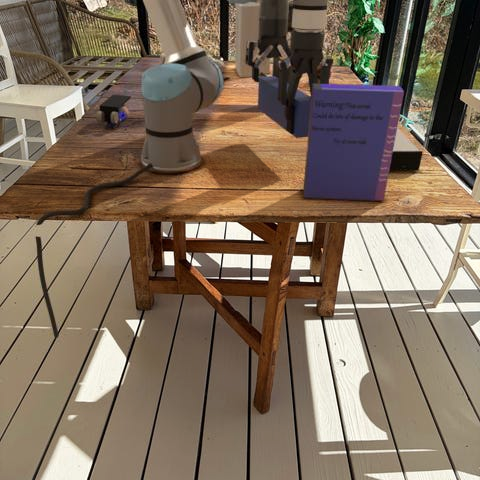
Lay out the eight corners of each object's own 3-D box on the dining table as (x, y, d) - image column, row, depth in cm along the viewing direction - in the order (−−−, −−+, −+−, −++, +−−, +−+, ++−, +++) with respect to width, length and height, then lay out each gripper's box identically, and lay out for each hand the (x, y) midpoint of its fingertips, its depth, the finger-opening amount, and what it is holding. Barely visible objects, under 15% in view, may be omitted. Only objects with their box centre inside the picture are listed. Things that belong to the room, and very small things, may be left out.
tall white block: (273, 76, 210) (276, 6, 196) (239, 77, 209) (240, 6, 194) (266, 67, 226) (268, 2, 212) (235, 67, 225) (235, 1, 210)
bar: (313, 136, 117) (317, 100, 113) (296, 138, 116) (299, 101, 111) (272, 107, 139) (274, 76, 134) (257, 108, 137) (258, 76, 133)
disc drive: (349, 170, 120) (352, 151, 117) (332, 140, 139) (334, 123, 137) (418, 171, 120) (423, 152, 118) (392, 140, 140) (395, 124, 137)
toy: (179, 75, 210) (178, 59, 206) (155, 65, 227) (154, 49, 224) (226, 69, 222) (226, 53, 218) (199, 60, 239) (199, 45, 235)
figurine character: (119, 135, 145) (134, 115, 156) (115, 111, 140) (131, 93, 152) (98, 134, 145) (114, 114, 157) (93, 110, 141) (110, 92, 152)
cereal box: (379, 191, 109) (398, 84, 97) (383, 201, 105) (404, 90, 93) (303, 188, 110) (312, 82, 98) (304, 197, 106) (314, 88, 94)
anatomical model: (319, 90, 206) (319, 91, 192) (304, 75, 205) (303, 75, 191) (340, 67, 202) (342, 66, 188) (325, 52, 201) (326, 50, 187)
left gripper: (335, 26, 112) (324, 123, 124) (265, 28, 107) (261, 129, 119) (351, 31, 106) (338, 132, 118) (277, 33, 101) (272, 139, 113)
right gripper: (292, 14, 128) (288, 76, 136) (242, 15, 124) (241, 79, 132) (304, 17, 122) (299, 82, 130) (252, 18, 118) (250, 85, 126)
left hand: (299, 131), depth 119 cm, fingers closed on bar, 5 cm apart
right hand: (270, 80), depth 131 cm, fingers open, 8 cm apart
